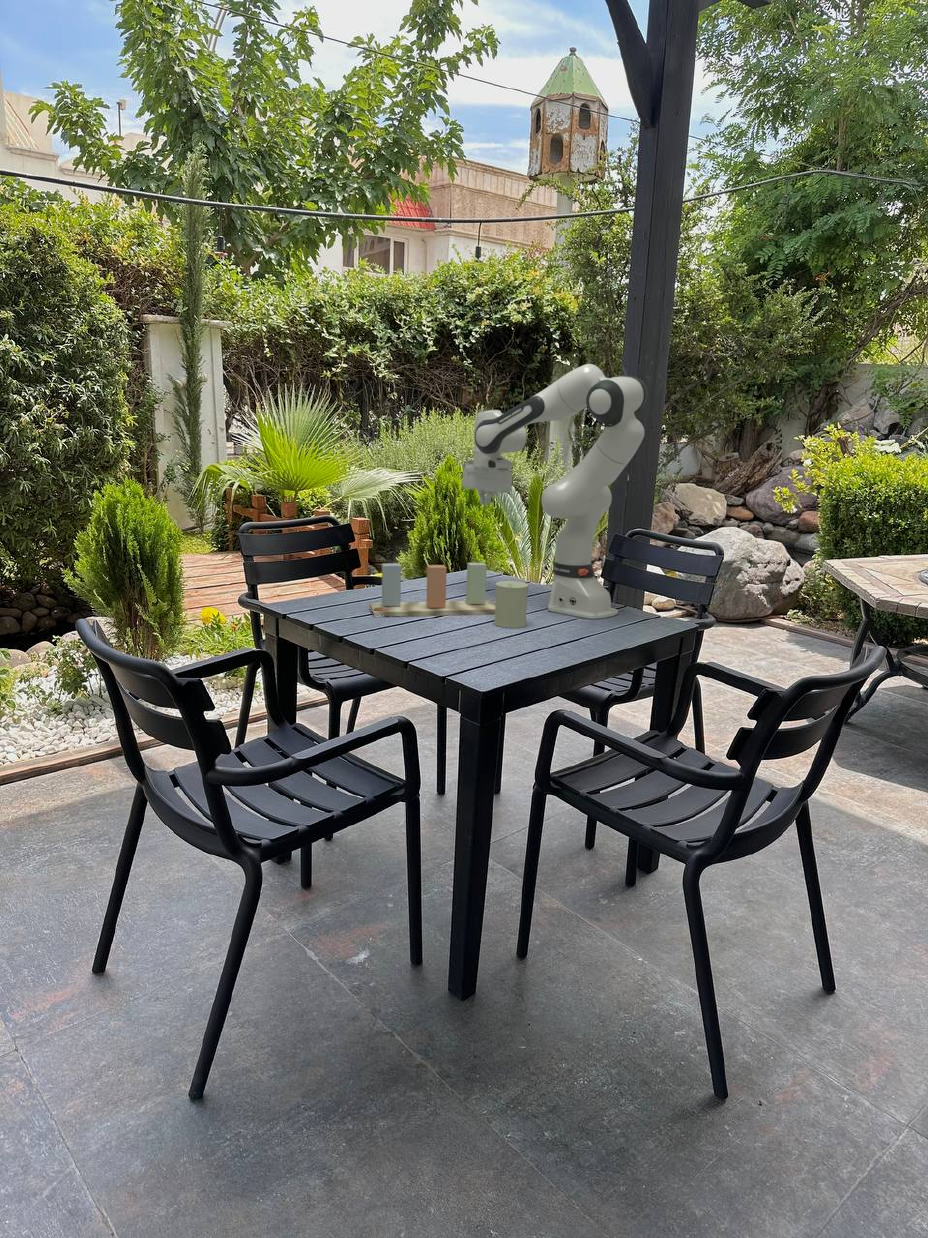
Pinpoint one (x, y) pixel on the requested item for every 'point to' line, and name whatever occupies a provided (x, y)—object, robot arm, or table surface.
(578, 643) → the table surface
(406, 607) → the wooden board
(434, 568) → the terracotta key
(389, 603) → the slate key
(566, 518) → the robot arm
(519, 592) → the can
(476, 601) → the sage key
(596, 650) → the table surface
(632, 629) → the table surface
